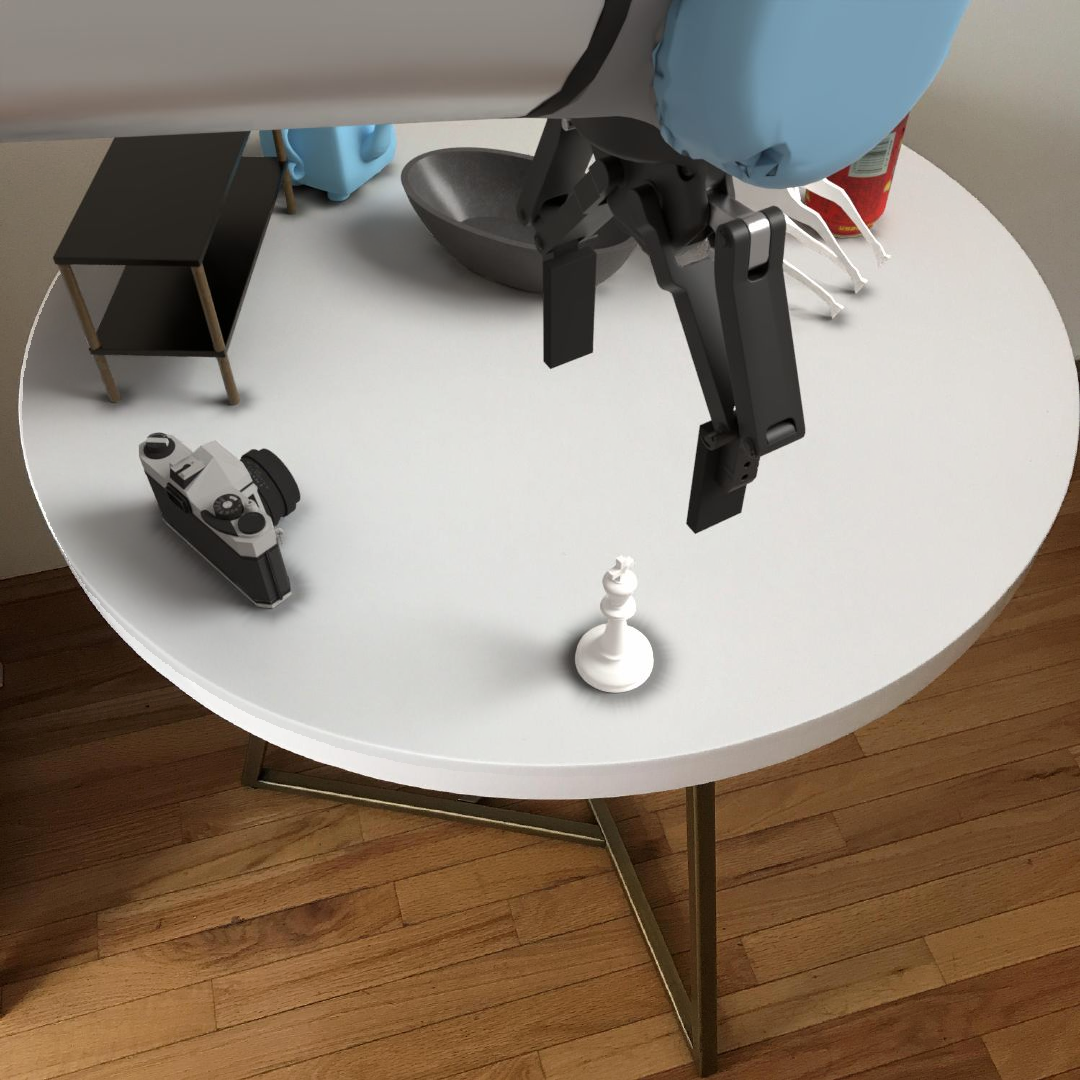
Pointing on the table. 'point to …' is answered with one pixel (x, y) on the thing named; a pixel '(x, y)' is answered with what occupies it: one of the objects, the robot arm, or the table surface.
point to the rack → (173, 243)
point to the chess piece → (615, 638)
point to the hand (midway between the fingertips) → (636, 433)
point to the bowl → (492, 215)
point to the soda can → (861, 186)
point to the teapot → (334, 155)
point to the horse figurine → (795, 209)
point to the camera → (226, 509)
